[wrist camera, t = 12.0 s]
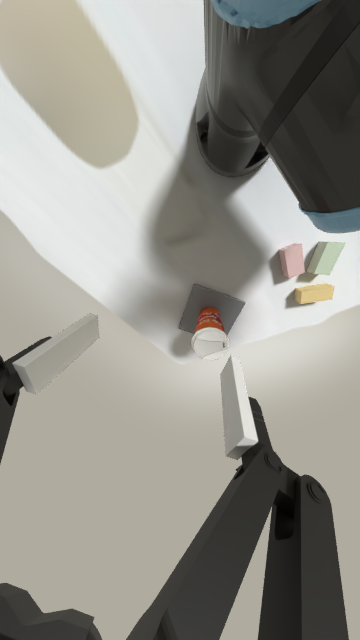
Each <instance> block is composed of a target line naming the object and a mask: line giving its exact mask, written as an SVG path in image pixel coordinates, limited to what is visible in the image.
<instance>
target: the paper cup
mask: <svg viewBox="0 0 360 640" xmlns="http://www.w3.org/2000/svg"><path fill="white" fill-rule="evenodd" d="M191 347H192V349H193V350H194V352H195V353H196V354H197V355H198V356H200V357H201V358H203V359H206V360H216V359H219V358H221V357H222V356H224V355H225V353H226V352H227V350H228V348H229V338H228V336H227V335H226V333H225V330H224V327H223V324H222V321H221V317H220V315H219V312H218V311H217V310H216V309H215V308H212V307H207V308H204V309H203V310H202V311H201V312H200V314H199V318H198V322H197V326H196V330H195V334H194V335H193V337H192V341H191Z"/></svg>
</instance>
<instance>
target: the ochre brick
mask: <svg viewBox="0 0 360 640" xmlns="http://www.w3.org/2000/svg"><path fill="white" fill-rule="evenodd" d="M333 291H334V286H332V285H330V284H327V283H322V284H317V285H311V286H306V287H300V288H295V301H297V302H298V303H300V304H305V303H312V302H318V301H325V300H331V299H332V297H333Z"/></svg>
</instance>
